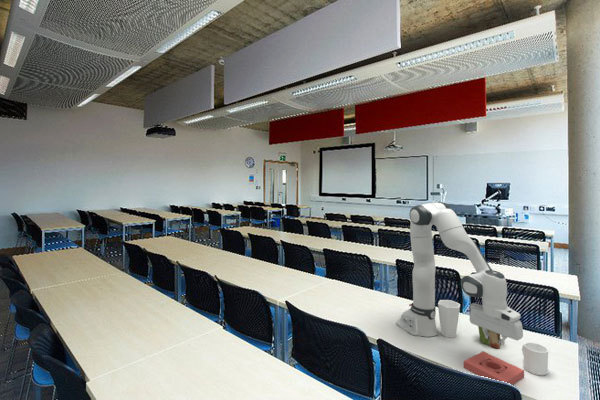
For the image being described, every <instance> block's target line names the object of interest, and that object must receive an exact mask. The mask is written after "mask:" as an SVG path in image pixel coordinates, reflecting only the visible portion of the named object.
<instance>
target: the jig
mask: <svg viewBox="0 0 600 400" xmlns="http://www.w3.org/2000/svg"><path fill="white" fill-rule="evenodd" d="M463 369H466V370H467V371H469V372H470V373H473V374H475V375H477V376H478V375H480V376H484V377H488V378H491V379H495V380H499V381H504V382H507V383H510V384H512V385H511V386H513V385H514V384H516V383H517V382H519V381H521V380H523V379H524V378H525V369H522V368H520V367H518V366H516V365H513V364H511V363H509V362H507V361H504V360H503V359H501V358H498V357H496V356H494V355H492V354H490V353H488V352H486V351H481V352H479V353H477V354H475V355H473V356H471V357H469V358H467V359H465V360H463ZM480 376H479V377H480Z"/></svg>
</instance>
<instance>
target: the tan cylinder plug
mask: <svg viewBox="0 0 600 400" xmlns="http://www.w3.org/2000/svg"><path fill="white" fill-rule="evenodd" d="M499 339H501V334H498V333H495V332H493V331H490V330H489V345H488V346H489V348H491V349H494V350H500V349H501V344H499Z"/></svg>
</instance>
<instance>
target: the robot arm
mask: <svg viewBox="0 0 600 400" xmlns="http://www.w3.org/2000/svg"><path fill="white" fill-rule="evenodd" d="M409 219H410V223H409V224H410V226H409V228H410V229H409V234H410V246H411V253H412V258H413V259H412V260H413V269H412V275H411V276H412V292H413V293H412V300H413V301H412V303H409V304H408V307H410V309H407V310H405V311H403V312H402V313H401V315H400V318H399V319H398V320H396V322H395V325H397V326H399V327H400V328H401V329H403V330H404V331H406V332H407V333H409V334H410V335H412V336H420V337H427V338H429V337H434V336H437V335H438V332H439V331H438V328H437V321H436V311H437V310H436V309H437V308H436V303H435V302H436V285H435V284H436V277H435V276H436V270H437V269H436V261H435V260H436V259H435V251H434V243H433V232H432V226H433V225H434V226H435V227H436V230H437V232H438V234H439V237H440V240H441V241H442V243H443V244H444V246H445V247H446V248H448V249H451V250H454V251H458V252H460V253H463V254H464V255H465V256H466V257H467V258H468V260H469V261H470V263H471V264H472V266H473V268H474V269H475V271H476V273H472V274H466V275H464V276H463V277H462V278H461V280H460V286H461V290H462V291H463V292H464V294H465V295H467V296H469V297H472V298H473V297H474V298H481V299H482V304H478V303H476V302H473V303H471V304H470V308H469V309H470V313H469V321H470V324H472V325H475V326H476V327H478V326H480V327H482V330H483V332H484V334H485V338H486V339H489V333H488V331H487V330H490V331H493V332H495V333H498V334H500V339H499V344H500V346H504V345H505V340H507V339H512V340H514V341H520V340H522V338H524V337H523V336H524V329H523V324H522V321H521V320H520V319H521V318H522V317H521V314H520V313H519V312H517V311H516V310H514V309H513V308H511V307H509V306H508V302H507V295H508V286H507V285H508V283H507V280H506V279H507V278H506V277H505V275H504V274H503V272H502V273H501V272H500V271H497V270H494V269H493V268H492V267H491V266H490V265H489V263H488V261H487V260H486V258H485V257H484V255H483V253H482V251H481V249H480V248H479V247H478V245H477V244H476V242H475V241H474V240H473V239H472V238H471V237H470V236H469V235H468V233H467V232H466V230H465V228H464V226H463V224H462V221H461V220H460V218H459V217H458V215H457V214H456V212H455V211H454V210H453V209H452V208H451V207H450V205H449V204H448V203H446V202H443V201H437V202H427V203H423V204H417V205H415V206H413V207H411V208H410V211H409Z"/></svg>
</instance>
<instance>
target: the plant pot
mask: <svg viewBox="0 0 600 400" xmlns="http://www.w3.org/2000/svg"><path fill="white" fill-rule="evenodd" d="M477 327H478V335H479V341H480V342H481V343H482V344H484V345H487V346H489V339H486V338H485V334H484V332H483V330H482V327H480V326H477ZM487 331H488V333H489V330H487Z"/></svg>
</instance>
